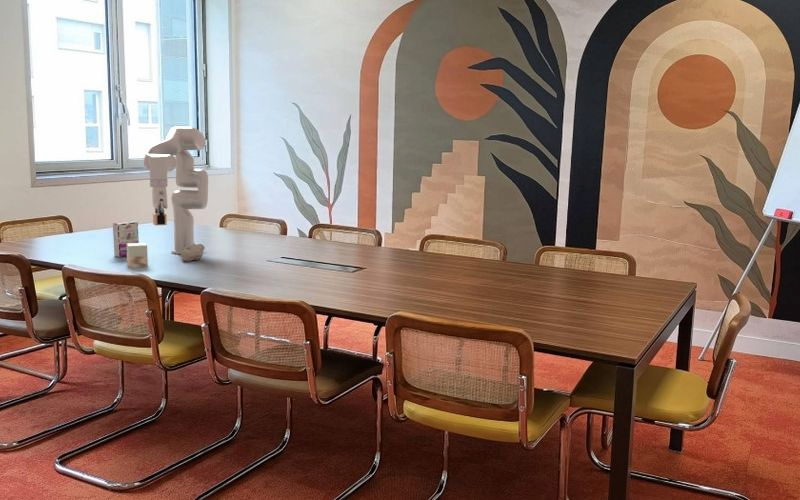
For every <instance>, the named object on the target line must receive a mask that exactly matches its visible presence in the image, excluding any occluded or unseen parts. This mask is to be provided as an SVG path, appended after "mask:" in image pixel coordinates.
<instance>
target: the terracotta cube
mask: <svg viewBox="0 0 800 500" xmlns="http://www.w3.org/2000/svg"><path fill="white" fill-rule="evenodd" d="M164 214H165V224H157V216H158V213H155V212H152V223H153V225H154V226H156V227H157V226H168V224H167V223H168V222H167V221H168V219H167V217H168V216H167V213H166V212H164Z"/></svg>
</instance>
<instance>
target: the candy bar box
mask: <svg viewBox="0 0 800 500" xmlns="http://www.w3.org/2000/svg"><path fill="white" fill-rule="evenodd" d="M138 224H139V223H138V221H133V220H132V221H124V222H116V223H112V234H113V235H112V237H113V250H114V251H113V253H114V254H113V255H114V257H115V258H125V257H126V258H127V243H140V242H139V225H138Z"/></svg>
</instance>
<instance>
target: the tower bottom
mask: <svg viewBox="0 0 800 500" xmlns="http://www.w3.org/2000/svg"><path fill="white" fill-rule="evenodd" d="M148 260H149V259H148V255H147V256H139V257H129V256H128V255H127V256H126V264H127V266H128V268H142V266H149V264H148V263H149V261H148Z"/></svg>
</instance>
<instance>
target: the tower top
mask: <svg viewBox="0 0 800 500" xmlns="http://www.w3.org/2000/svg"><path fill="white" fill-rule="evenodd" d="M127 255H128V256H129V257H139V256H147V257H148V245H147V243H146V242H139V243H127Z"/></svg>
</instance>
